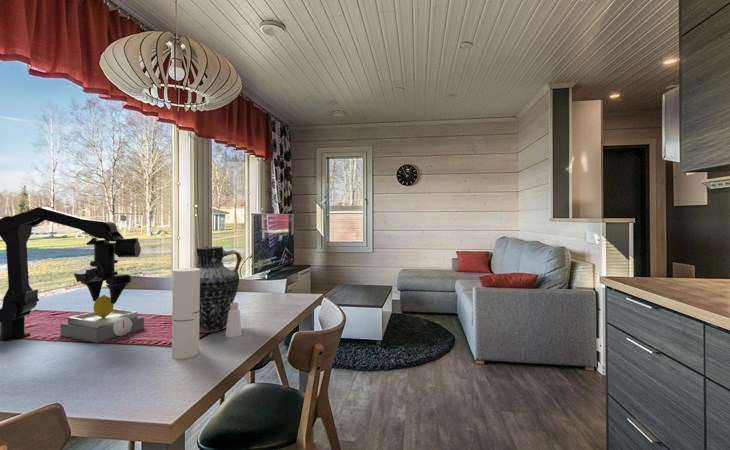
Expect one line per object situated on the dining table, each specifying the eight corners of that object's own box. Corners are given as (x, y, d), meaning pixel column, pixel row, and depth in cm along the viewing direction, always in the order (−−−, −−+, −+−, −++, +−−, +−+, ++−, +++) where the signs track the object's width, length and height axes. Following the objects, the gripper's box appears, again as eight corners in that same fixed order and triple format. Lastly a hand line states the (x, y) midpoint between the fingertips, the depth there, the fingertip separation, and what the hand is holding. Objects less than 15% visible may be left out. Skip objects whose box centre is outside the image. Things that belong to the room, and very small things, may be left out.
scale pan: (67, 323, 117) (67, 317, 116) (110, 313, 130) (111, 307, 130) (95, 328, 112) (95, 322, 112) (137, 317, 125) (137, 311, 125)
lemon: (102, 320, 117) (102, 297, 117) (89, 319, 118) (89, 296, 118) (117, 316, 123) (117, 293, 123) (104, 315, 124) (104, 292, 124)
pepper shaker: (244, 332, 122) (245, 301, 122) (237, 338, 117) (238, 305, 117) (230, 332, 123) (230, 301, 123) (222, 337, 117) (222, 304, 117)
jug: (187, 342, 112) (188, 249, 111) (172, 327, 126) (173, 245, 126) (249, 330, 125) (250, 247, 125) (229, 318, 140) (230, 243, 140)
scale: (60, 335, 116) (60, 317, 116) (110, 322, 131) (110, 306, 131) (98, 343, 110) (98, 324, 110) (146, 328, 125) (146, 312, 125)
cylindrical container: (204, 351, 105) (205, 268, 104) (185, 360, 98) (186, 272, 97) (186, 348, 107) (186, 267, 107) (166, 356, 100) (166, 270, 100)
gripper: (60, 258, 116) (60, 305, 116) (97, 261, 110) (97, 310, 110) (96, 255, 126) (95, 298, 127) (132, 258, 120) (131, 303, 120)
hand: (104, 302), depth 121 cm, fingers open, 9 cm apart
